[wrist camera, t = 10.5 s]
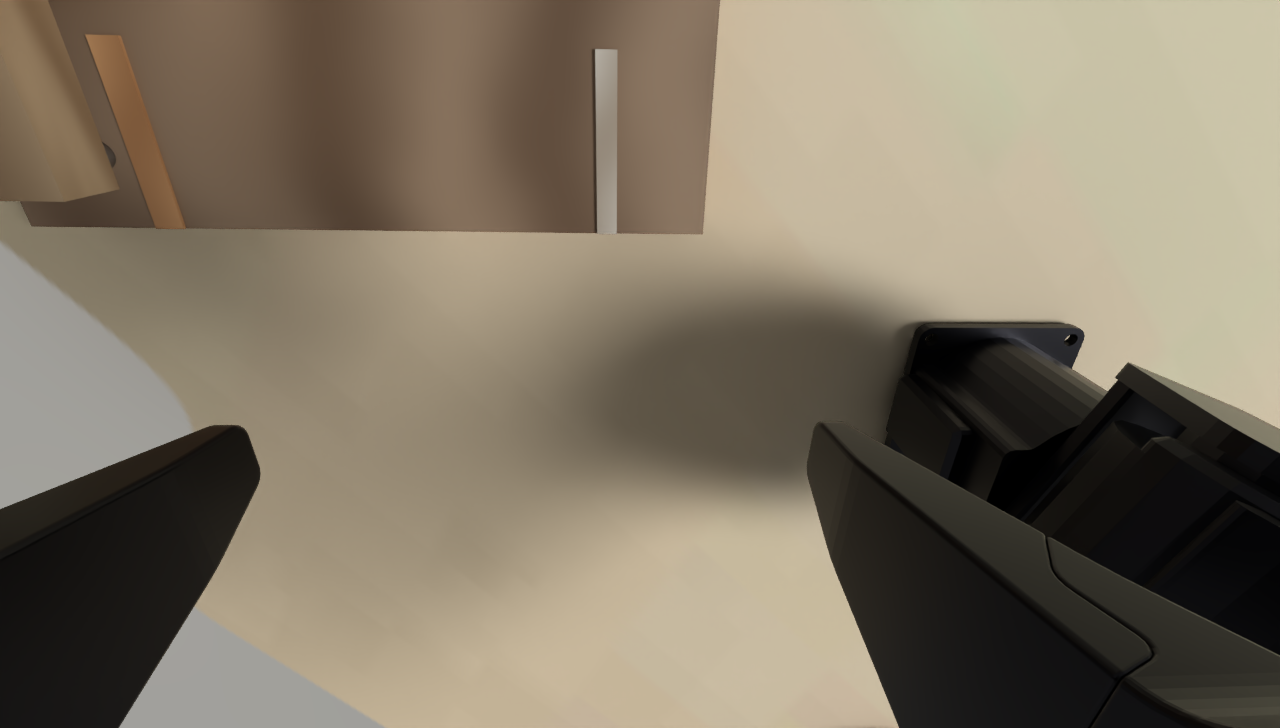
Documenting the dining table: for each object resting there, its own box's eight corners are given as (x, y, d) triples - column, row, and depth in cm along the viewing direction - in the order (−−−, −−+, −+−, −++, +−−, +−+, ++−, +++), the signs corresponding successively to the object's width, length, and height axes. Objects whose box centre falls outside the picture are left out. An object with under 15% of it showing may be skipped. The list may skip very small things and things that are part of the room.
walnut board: (726, -265, 14) (744, -318, 12) (694, 219, 19) (703, 235, 18) (-130, -314, 13) (-255, -380, 11) (87, 211, 18) (28, 227, 17)
